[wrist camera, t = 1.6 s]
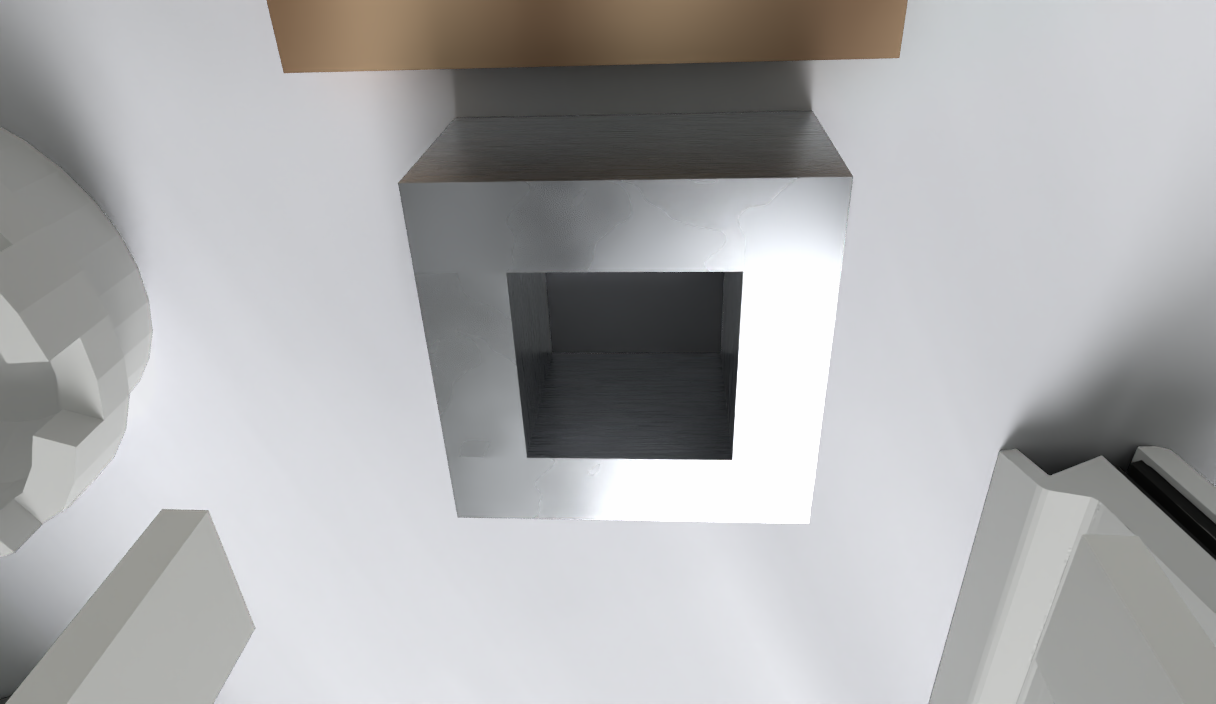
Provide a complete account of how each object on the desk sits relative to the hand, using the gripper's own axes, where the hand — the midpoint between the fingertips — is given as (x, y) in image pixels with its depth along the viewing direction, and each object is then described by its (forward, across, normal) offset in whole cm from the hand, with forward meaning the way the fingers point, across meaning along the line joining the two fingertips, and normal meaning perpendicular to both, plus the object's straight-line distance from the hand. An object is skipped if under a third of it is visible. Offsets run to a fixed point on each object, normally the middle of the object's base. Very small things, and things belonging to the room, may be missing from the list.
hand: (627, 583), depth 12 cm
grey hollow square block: (+11, 0, 0) cm, 11 cm away
